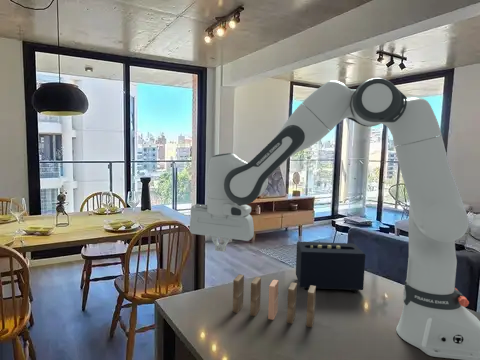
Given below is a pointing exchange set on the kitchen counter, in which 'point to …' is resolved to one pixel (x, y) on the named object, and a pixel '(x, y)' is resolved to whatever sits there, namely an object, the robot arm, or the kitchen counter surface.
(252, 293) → the domino
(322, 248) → the speaker
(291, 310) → the domino
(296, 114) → the robot arm
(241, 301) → the domino
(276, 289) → the domino
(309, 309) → the domino
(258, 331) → the kitchen counter surface
